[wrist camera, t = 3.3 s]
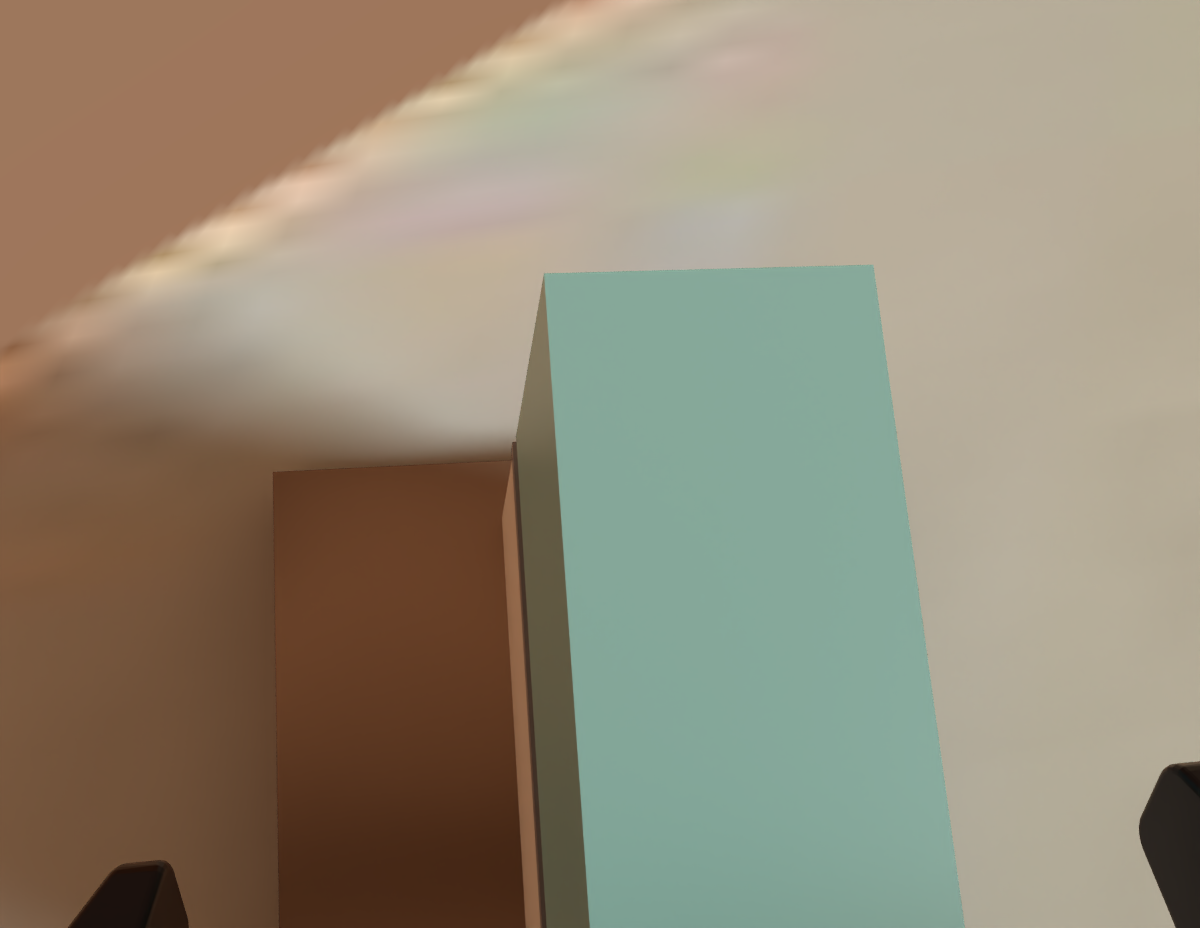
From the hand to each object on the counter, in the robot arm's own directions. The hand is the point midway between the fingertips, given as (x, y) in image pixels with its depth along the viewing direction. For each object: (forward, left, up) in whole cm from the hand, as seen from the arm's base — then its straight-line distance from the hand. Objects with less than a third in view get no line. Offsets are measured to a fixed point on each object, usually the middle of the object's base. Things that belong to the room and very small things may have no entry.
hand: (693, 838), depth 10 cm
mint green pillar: (-1, 0, -2) cm, 2 cm away
